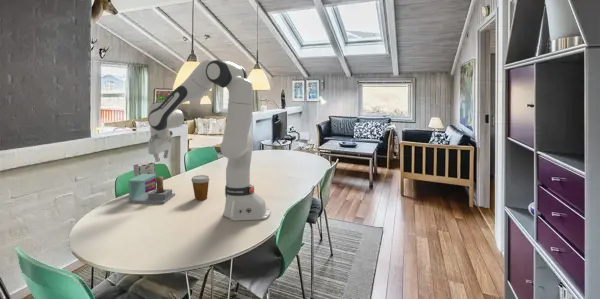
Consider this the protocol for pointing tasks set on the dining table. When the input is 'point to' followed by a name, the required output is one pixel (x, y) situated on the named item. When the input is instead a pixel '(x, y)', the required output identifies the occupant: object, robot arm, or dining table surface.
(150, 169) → the candy bar box
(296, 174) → the dining table surface
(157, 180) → the walnut dowel
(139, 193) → the socket station
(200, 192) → the disposable coffee cup
